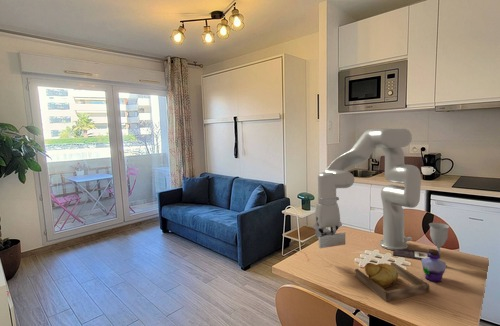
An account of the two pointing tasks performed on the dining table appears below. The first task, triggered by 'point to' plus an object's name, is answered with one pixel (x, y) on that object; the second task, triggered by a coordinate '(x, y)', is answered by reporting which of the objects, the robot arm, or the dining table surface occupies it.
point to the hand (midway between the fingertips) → (328, 241)
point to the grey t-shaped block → (330, 239)
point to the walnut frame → (399, 293)
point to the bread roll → (382, 274)
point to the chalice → (438, 234)
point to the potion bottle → (433, 266)
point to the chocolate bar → (410, 254)
